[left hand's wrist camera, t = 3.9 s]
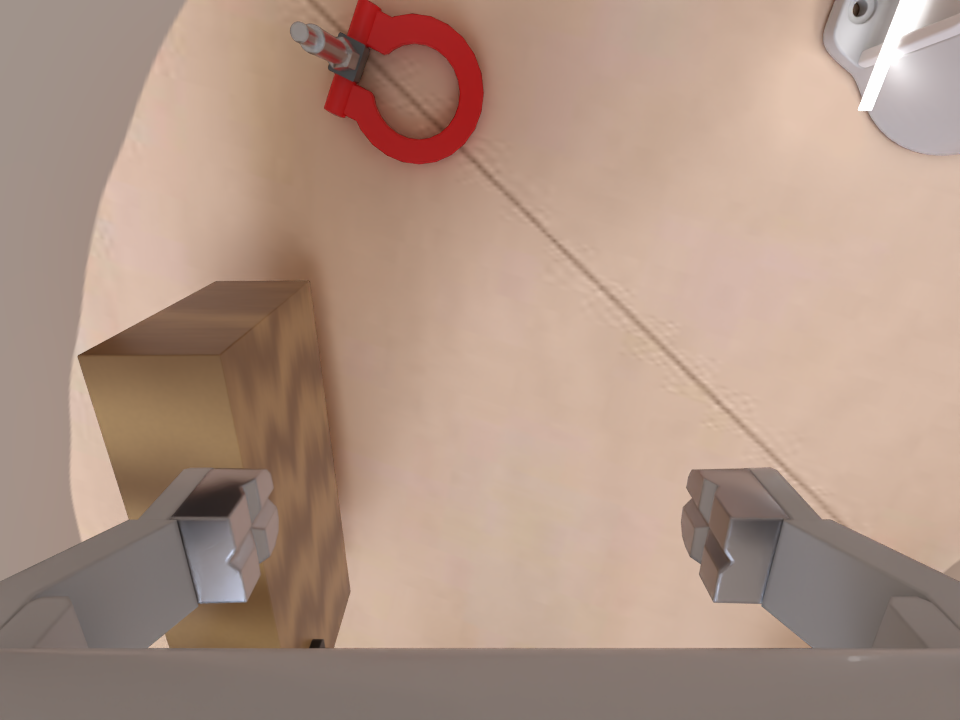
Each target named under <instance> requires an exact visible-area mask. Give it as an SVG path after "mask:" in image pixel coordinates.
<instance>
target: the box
mask: <svg viewBox="0 0 960 720" xmlns="http://www.w3.org/2000/svg"><path fill="white" fill-rule="evenodd" d="M78 360H79V363H80V366H81V369H82V372H83V376H84V379H85V382H86V385H87V388H88V391H89V395H90V398H91V401H92V404H93V407H94V410H95V414H96V417H97V420H98V423H99V426H100V429H101V433H102V436H103V439H104V442H105V445H106V448H107V452H108V455H109V458H110V461H111V464H112V467H113V471H114V474H115V477H116V480H117V483H118V486H119V490H120V493H121V496H122V499H123V502H124V505H125V509H126V512H127V515H128V518H129V520H138V519H139V518H140V517H141V516H142V514H143V513H144V512H145V511H146V510H147V509H148V508H149V507H150V506H151V505H152V504H153V502H154V501H155V500H156V499H157V498H158V497H159V496H160V495H161V494H162V493H163V492H164V490H165V489H166V488H167V487H168V486H169V485H170V484H171V483H172V482H173V481H174V480H175V479H176V477H177V476H178V475H179V474H180V473H181V472H182V471H183V470H184V469H188V468H251V469H267V470H268V471H269V472H270V473H271V477H272V482H273V487H274V488H273V490H272V492H271V494H270V495H269V497H268V499H269V500H270V501H271V502H272V503H273V504H274V505H275V506H276V507H277V510H278V516H279V531H278V536H277V540H276V545H275V547H274V549H273V551H272V554H271V556H270V557H269V558H267V559H266V560H264V561H263V562H262V563H260V564H259V566H260V572H261V575H260V577H259V579H258V581H257V583H256V585H255V587H254V589H253V591H252V593H251V595H250V597H249V599H248V601H247V602H244V603H209V604H198V607H197V608H196V609H194V610H193V611H192V612H191V613H190V614H188V615H187V616H186V617H185V618H183V619H182V620H181V621H180V622H179V623H177V624H176V625H175V626H174V627H173V628H171V629H170V630H169V631H168V632H166V633H165V635H166V639H167V642H168V645H169V648H309V647H310V644H311V641H312V640H313V639H324V642H325V648H334V646H335V642H336V639H337V636H338V632H339V629H340V625H341V622H342V619H343V615H344V612H345V608H346V605H347V602H348V598H349V595H350V584H349V577H348V569H347V562H346V554H345V546H344V539H343V531H342V523H341V516H340V508H339V501H338V493H337V485H336V478H335V470H334V462H333V455H332V447H331V439H330V432H329V424H328V417H327V409H326V401H325V394H324V386H323V378H322V371H321V363H320V356H319V348H318V340H317V333H316V325H315V317H314V310H313V302H312V294H311V287H310V281H216V282H214V283H212V284H210V285H208V286H206V287H204V288H202V289H201V290H199V291H197V292H195V293H193V294H191V295H189V296H188V297H186V298H184V299H182V300H180V301H178V302H176V303H175V304H173V305H171V306H169V307H167V308H165V309H163V310H162V311H160V312H158V313H156V314H154V315H152V316H150V317H149V318H147V319H145V320H143V321H141V322H139V323H137V324H136V325H134V326H132V327H130V328H128V329H126V330H124V331H123V332H121V333H119V334H117V335H115V336H113V337H111V338H110V339H108V340H106V341H104V342H102V343H100V344H98V345H97V346H95V347H93V348H91V349H89V350H87V351H85V352H84V353H82V354H80V355H78Z"/></svg>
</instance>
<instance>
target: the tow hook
mask: <svg viewBox="0 0 960 720" xmlns="http://www.w3.org/2000/svg"><path fill="white" fill-rule="evenodd" d="M290 34H291V36H292V38H293V39H294V40H295V41H296V42H298V43H300V45H301V46H302V48H303V49H304V50H305V51H306V52H308V53H310V54H312V55H315V56H317V57H319V58H322V59H324V60H326V61H328V62H329V66H328V69H329V70H330V71H332V72H334V73H335V75H334V78H333V81H332V84H331V87H330V90H329V94H328V97H327V100H326V103H325V106H324V109H326V110H327V111H328V112H330V113H332V114H334V115H336V116H338V117H342V118H345V117H346V116H348V117H350V118H352V119H354V120H356V121H357V123H358V125H359V127H360V129H361V131H362V132H363V133H364V134H365V136H366V137H367V138H368V139H369V141H370V142H371V143H372V144H373V145H374V146H375V147H377V148H378V149H379V150H381V151H382V152H383V153H384V154H386V155H387V156H390V157H392V158H394V159H397V160H399V161H402V162H406V163H414V164H425V163H431V162H437V161H439V160H441V159H443V158H446V157H448V156H450V155H452V154H453V153H454V152H455V151H457V150H458V149H459V148H460V147H461V146H463V145H464V144H465V143H466V141H467V140H468V138H469V137H470V135H471V134H472V133H473V131H474V130H475V127H476V125H477V122H478V119H479V117H480V114H481V111H482V102H483V94H484V92H483V83H482V75H481V71H480V68H479V65H478V63H477V60H476V57H475V55H474V53H473V51H472V50H471V48H470V47H469V46H468V44H467V43H466V41H465V40H464V38H463V37H462V36H461V35H460V34H458V33H457V32H456V31H455V30H454V29H453V28H452V27H450V26H449V25H448V24H446V23H444V22H442V21H440V20H438V19H435V18H433V17H431V16H425V15H419V14H406V15H400V16H394V17H390V16H389V15H387V14H385V13H383V12H381V9H380V8H379V7H378V6H377V5H375V4H373V3H372V2H370V1H368V0H358V3H357V6H356V9H355V12H354V15H353V18H352V21H351V25H350V28H349V31H348V34H347V35H345V34H343V33H341V32H340V33H339V34H338V37H334V36H332V35H331V34H329V33H328V32H326V31H325V30H323V29H322V28H320V27H318V26H317V25H315V24H304V23H302V22H295V23H293V24H292V26H291V28H290ZM409 44H420V45H426V46H429V47H431V48H433V49H435V50H437V51H438V52H439V53H441V54H442V55H443V56H444V57H445V58H446V59H447V60H448V61H449V63H450V64H451V66H452V67H453V69H454V71H455V74H456V76H457V79H458V83H459V90H460V96H459V105H458V108H457V111H456V114H455V117H454V118H453V120H452V121H451V122H450V124H449V125H448V127H446V128H445V129H444V130H443V131H442V132H441V133H439V134H437V135H435V136H433V137H431V138H425V139H412V138H407V137H405V136H403V135H400V134H398V133H397V132H395V131H394V130H393V129H391V128H390V127H389V126H388V125H387V123H386V122H385V121H384V120H383V118H382V117H381V115H380V113H379V111H378V108H377V106H376V102H375V97H374V95H373V93H372V92H370V91H368V90H366V89H364V88H362V87H360V86H358V85H356V84H357V83H359V82H360V79H361V76H362V73H363V70H364V67H365V64H366V61H367V58H368V55H369V52H370V49H369V47H370V48H372V49H374V50H376V51H378V52H380V53H382V54H384V55H386V54H390V53H391V52H392V51H393V50H395V49H397V48H399V47H401V46H403V45H409Z"/></svg>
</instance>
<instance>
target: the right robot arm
mask: <svg viewBox="0 0 960 720" xmlns="http://www.w3.org/2000/svg"><path fill="white" fill-rule="evenodd" d="M309 648H325V642H324V639H313V640H312V641H311V644H310V647H309Z"/></svg>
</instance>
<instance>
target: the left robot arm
mask: <svg viewBox="0 0 960 720" xmlns="http://www.w3.org/2000/svg"><path fill="white" fill-rule="evenodd" d="M855 3H858V5H859V7H860V11H859V14H858V15H857V17H856V16H854V15H853V11H852V10H853V6H854V4H855ZM823 42H824V46H825V48H826V50H827V52H828V53H829V54H830V56H831V57H832V58H833V59H834V60H835V61H836V62H837V63H839V64H840V65H841V66H842V67H843V68H844V69H845V70H847V71H848V72H849V73H850V74H851V75H852V76H853V78H854V80H855V81H856V84H857V86H858V88H859V91H860V94H861V97H862V101H861V104H860V106H859V109H858V110H861V111H868V113H869V115H870V117H871V118H872V120H873V121H874V123H875V124H876V125H877V127H878V128H879V129H880V130H881V131H882V132H883V133H884V134H885V135H886V136H887V137H888V138H890V139H891V140H892V141H894V142H895V143H897V144H898V145H900V146H902V147H904V148H906V149H909V150H911V151H914V152H918V153H922V154H927V155H940V156H944V155H956V154H960V0H835V2H834V4H833V7H832V10H831V12H830V15H829V18H828V20H827V23H826V26H825V29H824V33H823ZM273 488H274V487H273V482H272V477H271V473H270V472H269V471H268V470H267V469H251V468H188V469H184V470H183V471H182V472H181V473H180V474H179V475H178V476H177V477H176V479H175V480H174V481H173V482H172V483H171V484H170V485H169V486H168V487H167V488H166V489H165V490H164V492H163V493H162V494H161V495H160V496H159V497H158V498H157V499H156V500H155V501H154V502H153V504H152V505H151V506H150V507H149V508H148V509H147V510H146V511H145V512H144V513H143V514H142V516H141V517H140V518H139V519H138V520H127V521H125V522H123V523H121V524H119V525H117V526H115V527H113V528H111V529H109V530H107V531H104V532H102V533H100V534H98V535H96V536H94V537H92V538H90V539H88V540H86V541H84V542H82V543H79V544H77V545H75V546H73V547H71V548H69V549H67V550H65V551H63V552H61V553H59V554H57V555H54V556H52V557H50V558H48V559H46V560H44V561H42V562H40V563H38V564H36V565H34V566H32V567H30V568H27V569H25V570H23V571H21V572H19V573H17V574H15V575H13V576H11V577H9V578H7V579H5V580H2V581H0V720H960V582H959V581H957V580H955V579H953V578H951V577H949V576H947V575H945V574H943V573H941V572H939V571H936V570H934V569H932V568H930V567H928V566H926V565H924V564H922V563H920V562H918V561H916V560H914V559H912V558H909V557H907V556H905V555H903V554H901V553H899V552H897V551H895V550H893V549H891V548H889V547H887V546H885V545H882V544H880V543H878V542H876V541H874V540H872V539H870V538H868V537H866V536H864V535H862V534H860V533H858V532H855V531H853V530H851V529H849V528H847V527H845V526H843V525H841V524H839V523H837V522H835V521H833V520H822V519H821V518H820V517H819V516H818V515H817V513H816V512H815V511H814V510H813V509H812V508H811V507H810V506H809V505H808V504H807V502H806V501H805V500H804V499H803V498H802V497H801V496H800V495H799V494H798V493H797V492H796V490H795V489H794V488H793V487H792V486H791V485H790V484H789V483H788V482H787V481H786V480H785V478H784V477H783V476H782V475H781V474H780V473H779V472H778V471H777V470H775V469H773V468H771V467H764V468H744V469H698V470H691V472H690V474H689V476H688V481H687V486H686V488H687V490H688V492H689V494H690V495H691V497H692V499H691V500H690V501H689V502H688V503H687V504H686V505H685V506H684V507H683V510H682V518H681V528H682V537H683V541H684V544H685V547H686V549H687V552H688V554H689V556H690V557H691V558H693V559H694V560H696V561H697V562H698V563H700V564H701V566H700V572H699V575H700V577H701V579H702V581H703V583H704V585H705V587H706V589H707V591H708V593H709V595H710V597H711V599H712V601H713V602H714V603H751V604H762V607H763V608H765V609H766V610H767V611H768V612H769V613H771V614H772V615H773V616H774V617H775V618H777V619H778V620H779V621H780V622H782V623H783V624H784V625H785V626H786V627H788V628H789V629H790V630H791V631H793V632H794V633H795V634H796V635H797V636H799V637H800V638H801V639H802V640H804V641H805V642H806V643H807V644H808V645H810V646H811V647H812V648H148V647H149V646H151V645H152V644H153V643H154V642H155V641H157V640H158V639H159V638H160V637H162V636H163V635H164V634H165V633H166V632H168V631H169V630H170V629H171V628H173V627H174V626H175V625H176V624H177V623H179V622H180V621H181V620H182V619H183V618H185V617H186V616H187V615H188V614H190V613H191V612H192V611H193V610H194V609H196V608H197V607H198V604H209V603H244V602H247V601H248V599H249V597H250V595H251V593H252V591H253V589H254V587H255V585H256V583H257V581H258V579H259V577H260V575H261V572H260V566H259V564H260V563H262V562H263V561H264V560H266V559H267V558H269V557H270V556H271V554H272V551H273V549H274V547H275V545H276V540H277V536H278V531H279V516H278V510H277V507H276V506H275V505H274V504H273V503H272V502H271V501H270V500H269V499H268V497H269V495H270V494H271V492H272V490H273Z"/></svg>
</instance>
